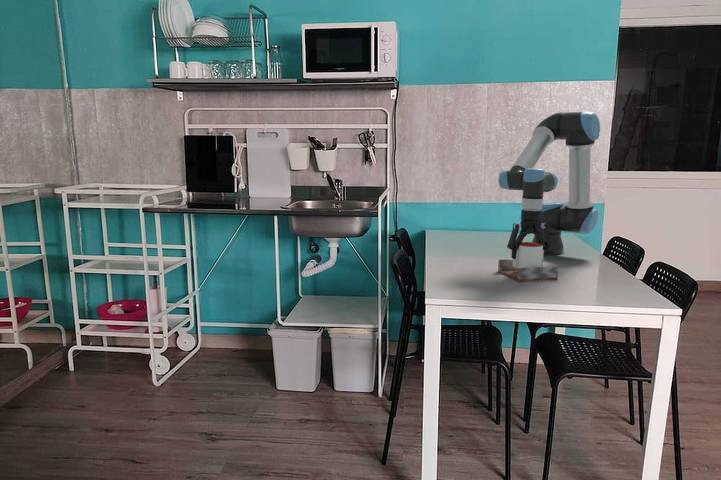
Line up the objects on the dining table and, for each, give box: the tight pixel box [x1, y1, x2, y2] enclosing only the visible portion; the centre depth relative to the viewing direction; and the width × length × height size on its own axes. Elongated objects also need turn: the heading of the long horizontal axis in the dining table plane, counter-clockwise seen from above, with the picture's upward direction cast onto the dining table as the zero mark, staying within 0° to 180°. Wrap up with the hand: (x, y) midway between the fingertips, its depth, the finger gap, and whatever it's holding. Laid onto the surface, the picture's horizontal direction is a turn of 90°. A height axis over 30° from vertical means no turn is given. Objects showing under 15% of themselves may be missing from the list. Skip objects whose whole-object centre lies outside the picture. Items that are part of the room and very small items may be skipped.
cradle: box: [497, 258, 559, 283], centre depth 208 cm, size 16×16×5 cm
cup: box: [516, 241, 543, 270], centre depth 207 cm, size 10×10×10 cm
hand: (527, 266), depth 208 cm, fingers closed on cup, 10 cm apart
